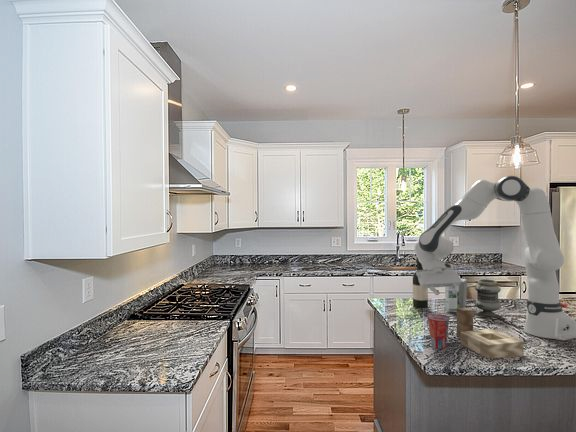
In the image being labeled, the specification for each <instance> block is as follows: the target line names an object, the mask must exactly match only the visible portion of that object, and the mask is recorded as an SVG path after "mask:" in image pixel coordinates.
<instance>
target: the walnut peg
mask: <svg viewBox="0 0 576 432" xmlns="http://www.w3.org/2000/svg"><path fill="white" fill-rule="evenodd" d="M464 331H474V309H471V308H468V307H466V306H465V307H464V308H457V312H456V336H457V337H458V338H459V339H461V332H464Z"/></svg>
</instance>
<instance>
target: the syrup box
mask: <svg viewBox="0 0 576 432" xmlns="http://www.w3.org/2000/svg"><path fill="white" fill-rule="evenodd" d="M444 290H445V292H444V295H445V297H444V299H445V300H444V301H445V302H444V303H445V310H446V311H447V312H448V313H457V308H459V286H457V291H458V293H457V294H453V292H452V290H453V288H452V287H444Z"/></svg>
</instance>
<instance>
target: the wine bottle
mask: <svg viewBox="0 0 576 432" xmlns="http://www.w3.org/2000/svg"><path fill="white" fill-rule="evenodd" d="M417 270H423V268H422V264H421V263H420V262H419V260H418V258H417V257H416V271H417ZM416 271H415V272H414V274H413V276H412V307H415V308H418V309H419V308H421V309H424V308H428V307H429V289H428V288H422V287H421V286H420V283H419V280H418V277H417V275H416Z"/></svg>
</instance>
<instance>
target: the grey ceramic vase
mask: <svg viewBox="0 0 576 432" xmlns="http://www.w3.org/2000/svg"><path fill="white" fill-rule="evenodd" d="M474 289H475V291H477V292H476V293H477V294H476V295H477V296H476V299H475V300H474V305H475V307H476V308H477V309H479V310H481V311H478V312H476V315H478V316H479V317H483V318H491V319H495V318H499V315H498V314H497V313H495V311H499V310H500V309H502V304H501V302H500V301H499V293H500V292H501V291H502V290H501V286H499V284H498V282H497V280H495V279H487V278H485V279H484V278H483V279H479V280H478V281H477V283H476V284H475V285H474Z"/></svg>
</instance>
